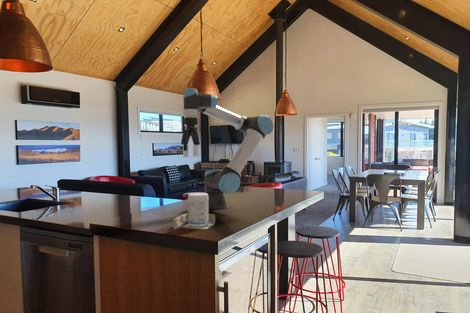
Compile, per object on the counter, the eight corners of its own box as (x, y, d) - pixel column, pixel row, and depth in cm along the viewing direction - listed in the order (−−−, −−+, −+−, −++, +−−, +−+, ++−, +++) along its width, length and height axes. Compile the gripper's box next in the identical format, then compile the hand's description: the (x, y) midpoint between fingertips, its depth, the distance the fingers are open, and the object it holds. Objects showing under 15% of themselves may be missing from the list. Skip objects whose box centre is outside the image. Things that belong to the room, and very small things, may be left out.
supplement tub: (195, 222, 162) (195, 192, 161) (212, 223, 158) (212, 193, 157) (184, 226, 153) (184, 194, 152) (202, 228, 149) (201, 195, 148)
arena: (186, 221, 166) (186, 213, 166) (216, 222, 162) (216, 214, 162) (172, 228, 151) (172, 219, 151) (205, 230, 147) (205, 221, 147)
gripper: (192, 119, 193) (193, 156, 193) (174, 115, 169) (174, 157, 169) (205, 119, 191) (205, 156, 191) (188, 115, 167) (188, 157, 167)
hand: (191, 156), depth 180 cm, fingers open, 13 cm apart
